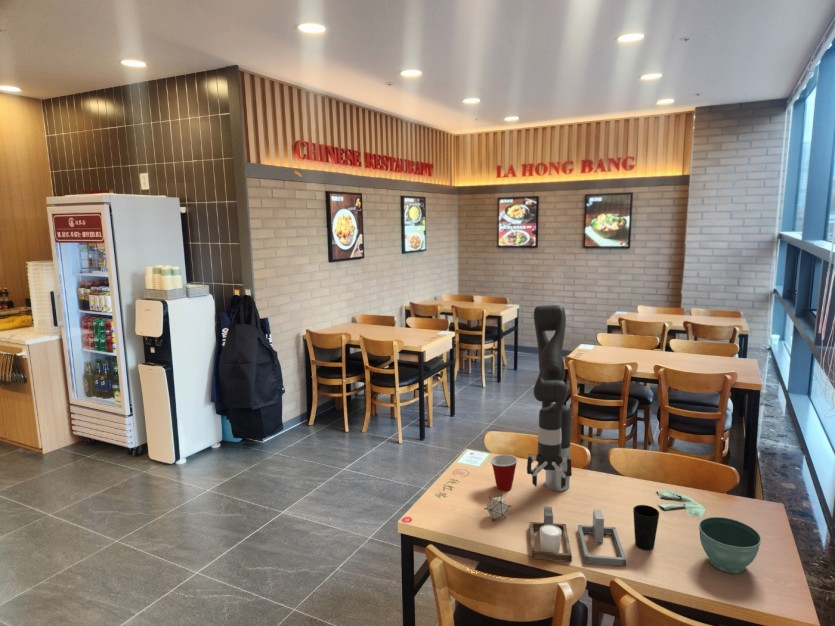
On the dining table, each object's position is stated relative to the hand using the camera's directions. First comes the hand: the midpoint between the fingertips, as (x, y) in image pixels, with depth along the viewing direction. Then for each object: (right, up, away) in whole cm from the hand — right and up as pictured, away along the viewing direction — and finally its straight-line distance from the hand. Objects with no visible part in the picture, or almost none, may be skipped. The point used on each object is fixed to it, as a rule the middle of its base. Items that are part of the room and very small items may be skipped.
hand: (548, 486), depth 180 cm
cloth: (+51, -14, +22) cm, 57 cm away
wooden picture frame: (-1, -18, -3) cm, 18 cm away
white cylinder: (-1, -19, -6) cm, 20 cm away
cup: (+30, -18, -5) cm, 35 cm away
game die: (-15, -16, +13) cm, 26 cm away
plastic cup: (-9, -12, +35) cm, 38 cm away
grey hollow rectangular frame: (+15, -18, -6) cm, 24 cm away
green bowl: (+50, -19, -15) cm, 56 cm away
